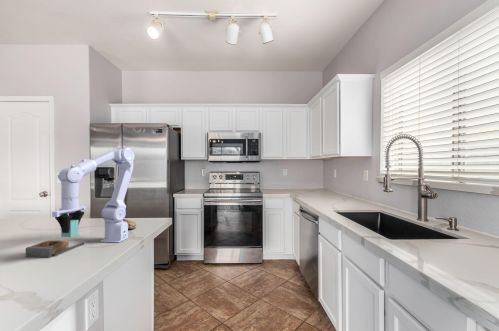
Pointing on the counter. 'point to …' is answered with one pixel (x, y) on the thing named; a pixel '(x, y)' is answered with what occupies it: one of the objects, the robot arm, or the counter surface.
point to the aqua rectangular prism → (72, 229)
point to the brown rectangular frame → (54, 245)
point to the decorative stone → (130, 224)
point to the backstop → (47, 251)
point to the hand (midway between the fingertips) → (70, 231)
